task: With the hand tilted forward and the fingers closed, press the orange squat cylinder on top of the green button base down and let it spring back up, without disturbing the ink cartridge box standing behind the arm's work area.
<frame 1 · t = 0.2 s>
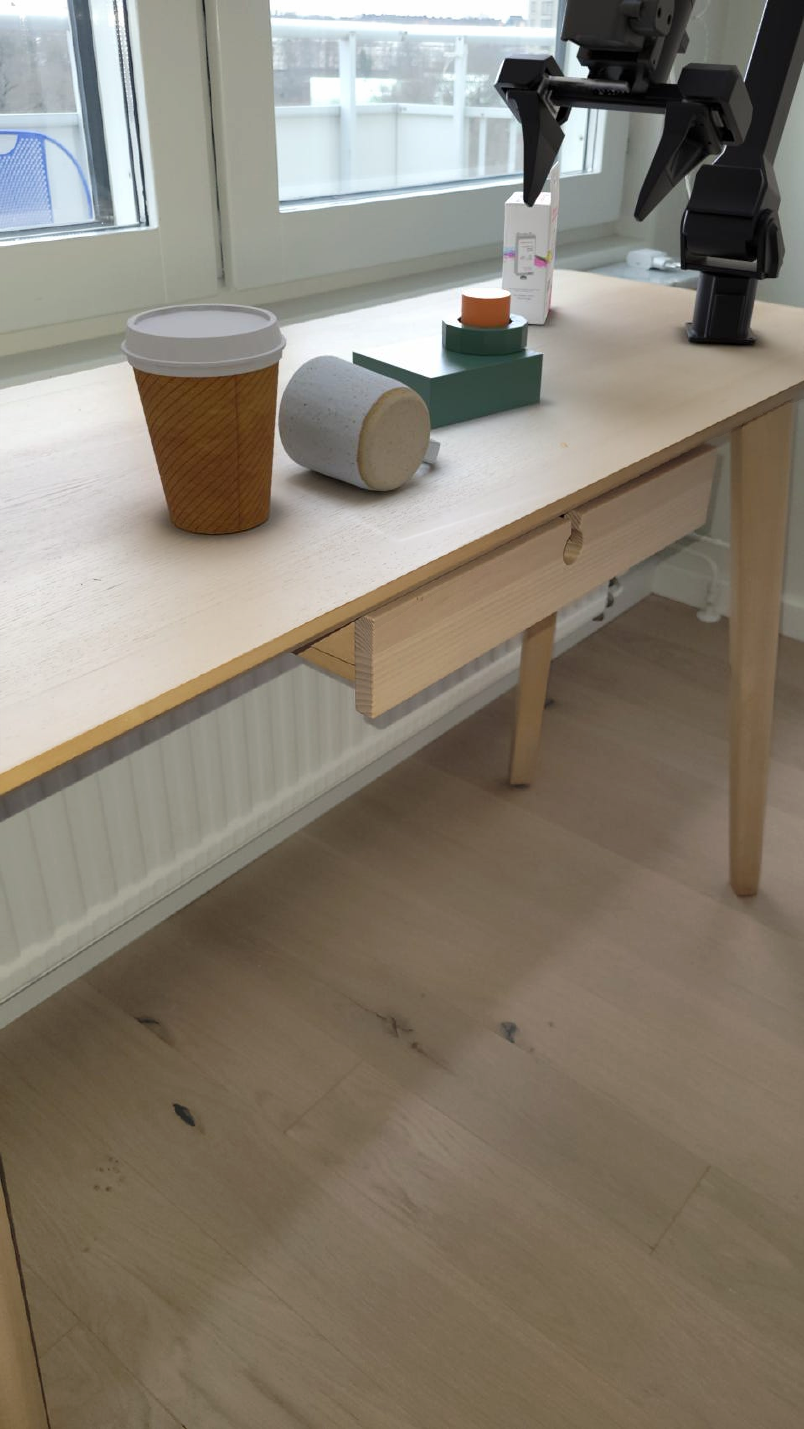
hand: (580, 211, 80), 15 cm above the table, tool tilted 30°, fingers open, 9 cm apart
ceramic mug: (368, 476, 75), on the table
ink cartridge box: (525, 317, 116), on the table
orange squat cylinder: (485, 309, 88), point 7 cm above the table, slide at 0.1 cm
green button base: (446, 401, 89), on the table
disposable coffee cup: (220, 518, 68), on the table
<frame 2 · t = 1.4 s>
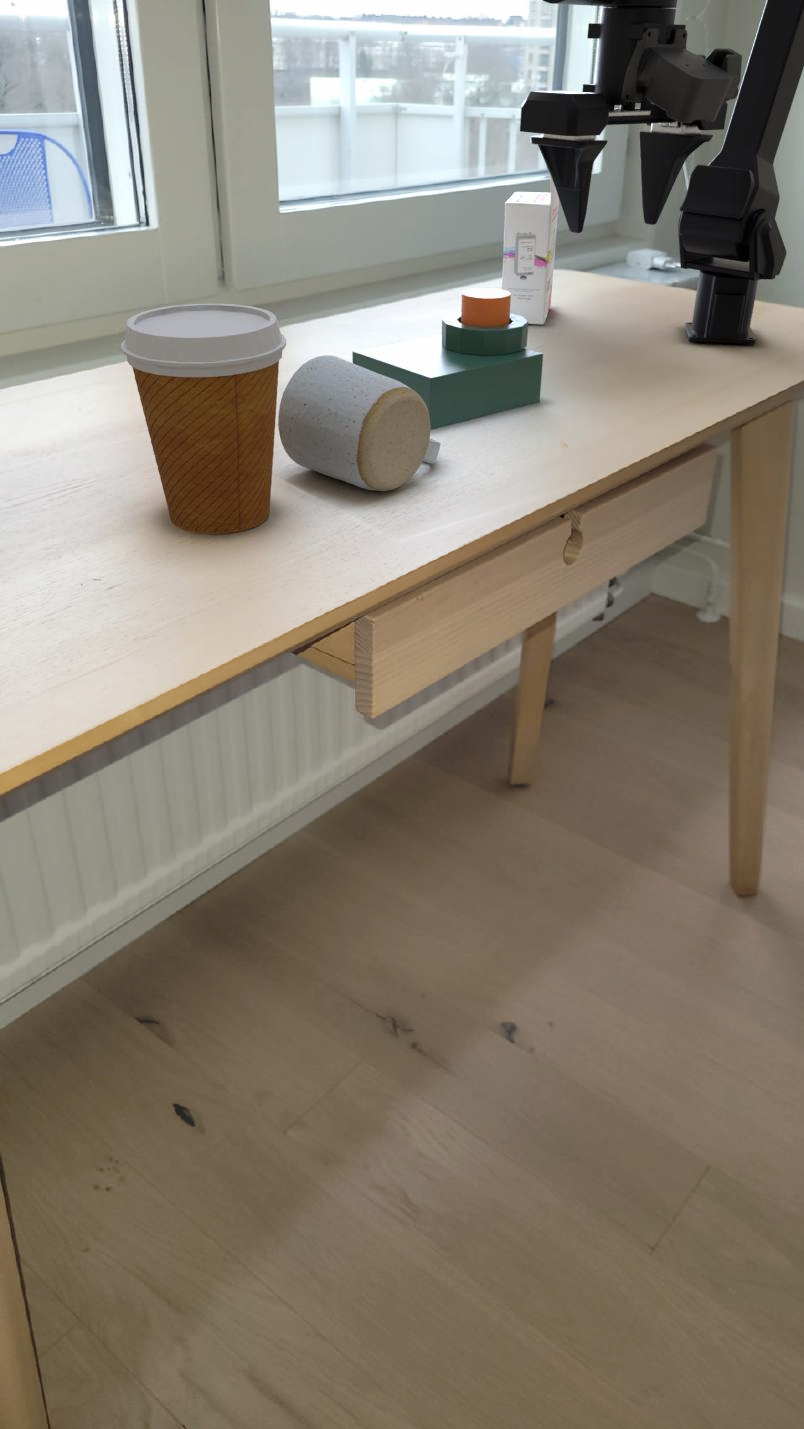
hand: (614, 228, 91), 12 cm above the table, tool pointing down, fingers open, 9 cm apart
nothing on the table moved.
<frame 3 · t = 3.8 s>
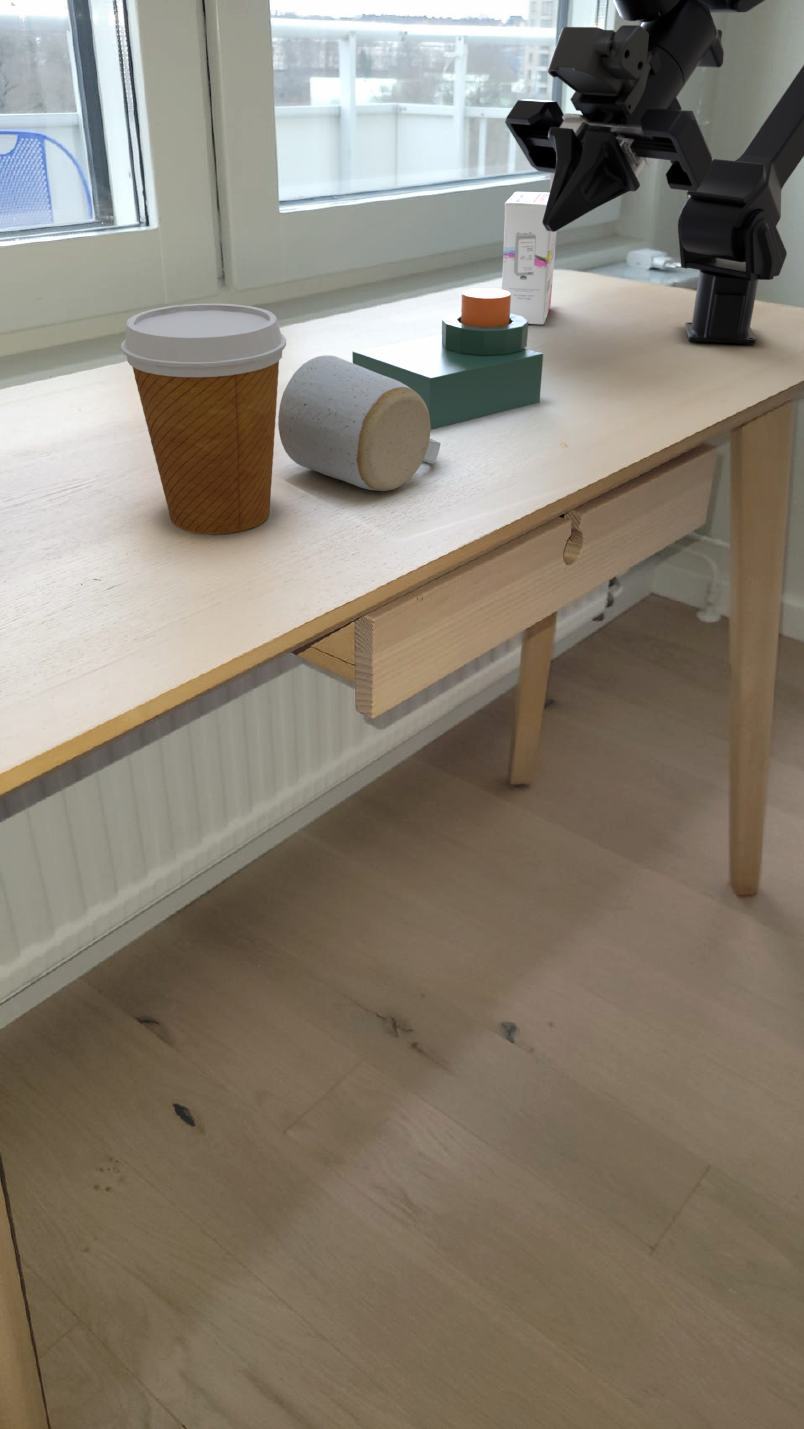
hand: (547, 227, 88), 12 cm above the table, tool tilted 45°, fingers closed
nothing on the table moved.
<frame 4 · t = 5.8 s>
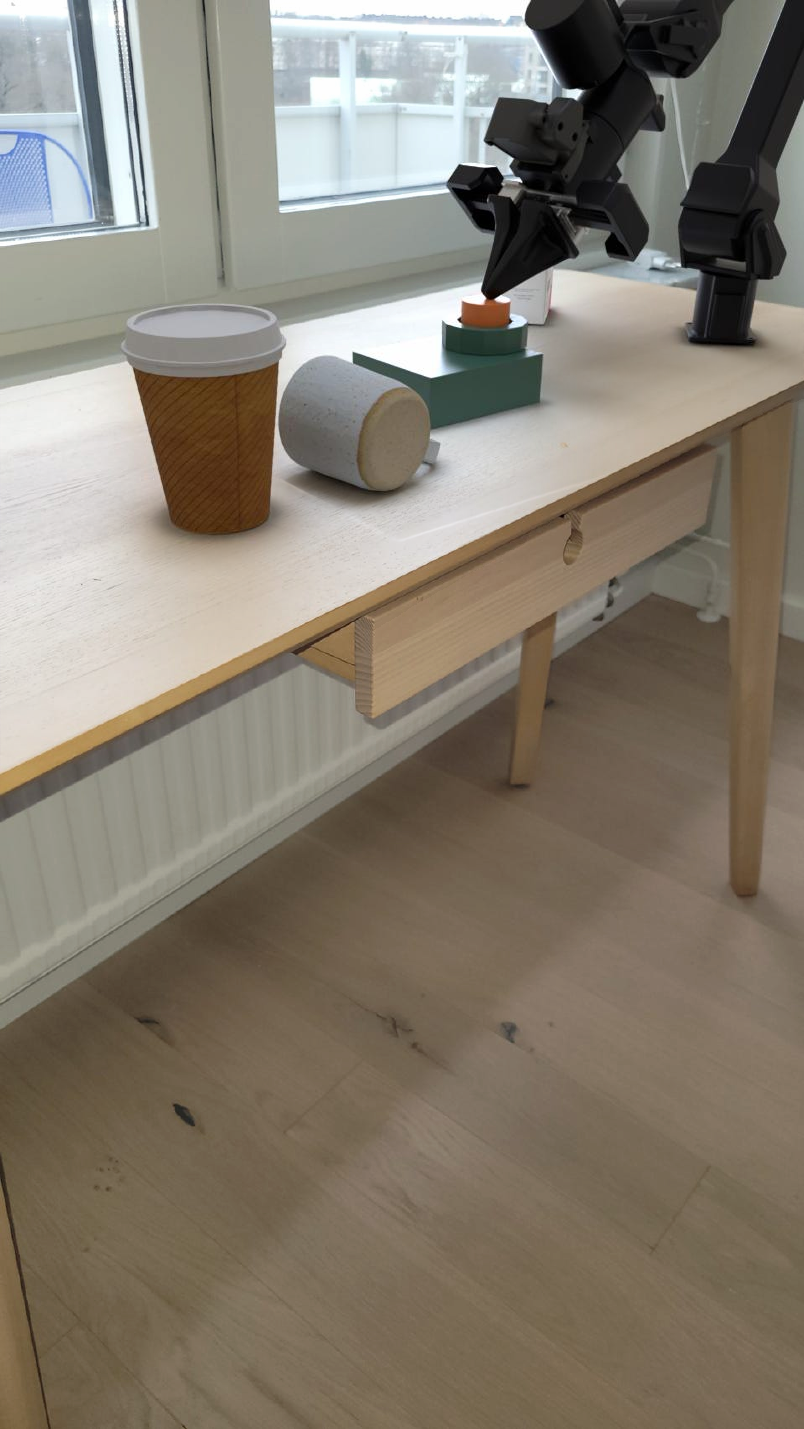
hand: (486, 295, 87), 8 cm above the table, tool tilted 45°, fingers closed, pressing on orange squat cylinder
orange squat cylinder: (485, 315, 88), point 6 cm above the table, slide at -0.4 cm, touching gripper
everything else where it was.
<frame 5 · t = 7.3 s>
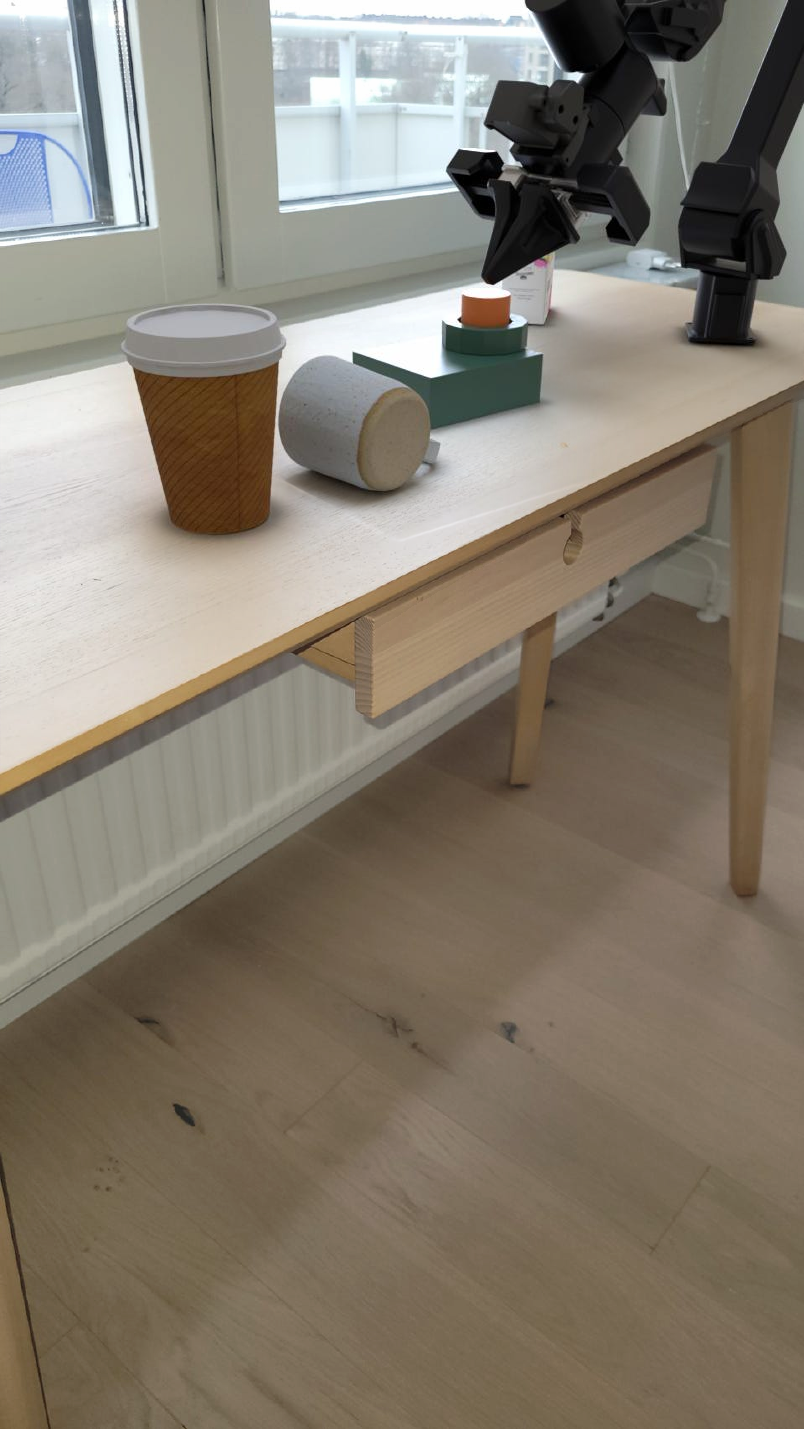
hand: (486, 281, 86), 9 cm above the table, tool tilted 45°, fingers closed
orange squat cylinder: (485, 309, 88), point 7 cm above the table, slide at 0.1 cm
everything else where it was.
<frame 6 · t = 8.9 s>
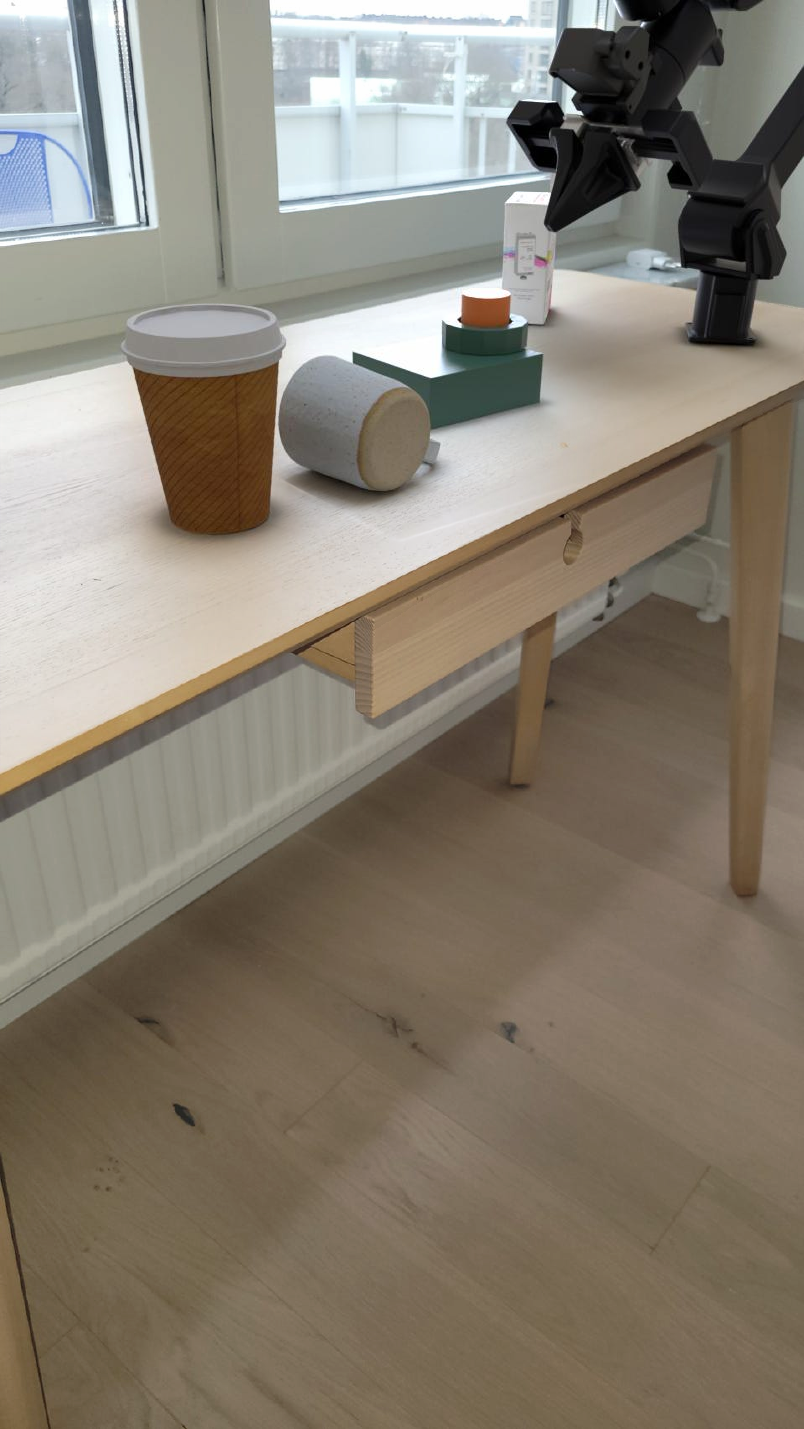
hand: (548, 228, 88), 12 cm above the table, tool tilted 45°, fingers closed
nothing on the table moved.
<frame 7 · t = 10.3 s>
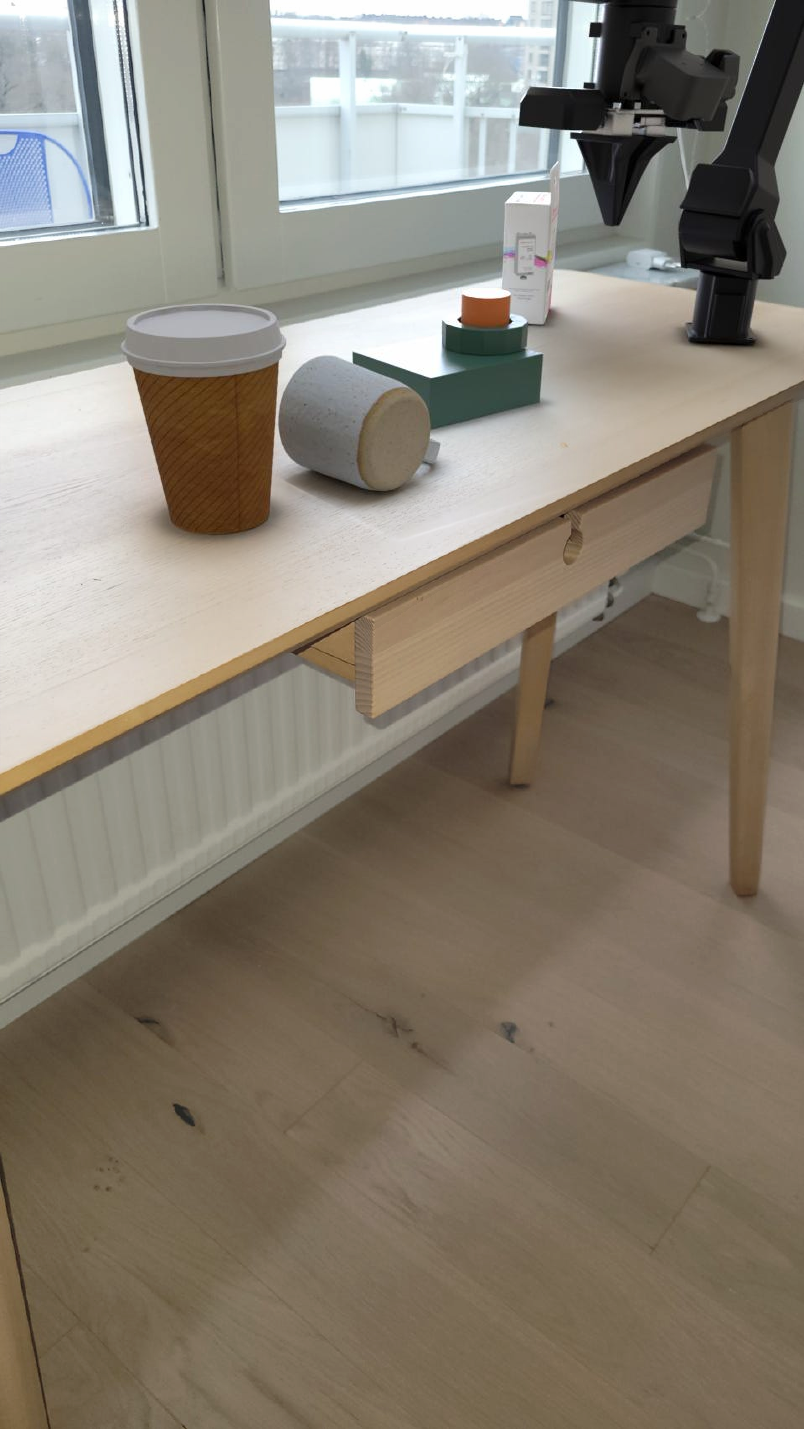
hand: (611, 226, 92), 12 cm above the table, tool pointing down, fingers closed
nothing on the table moved.
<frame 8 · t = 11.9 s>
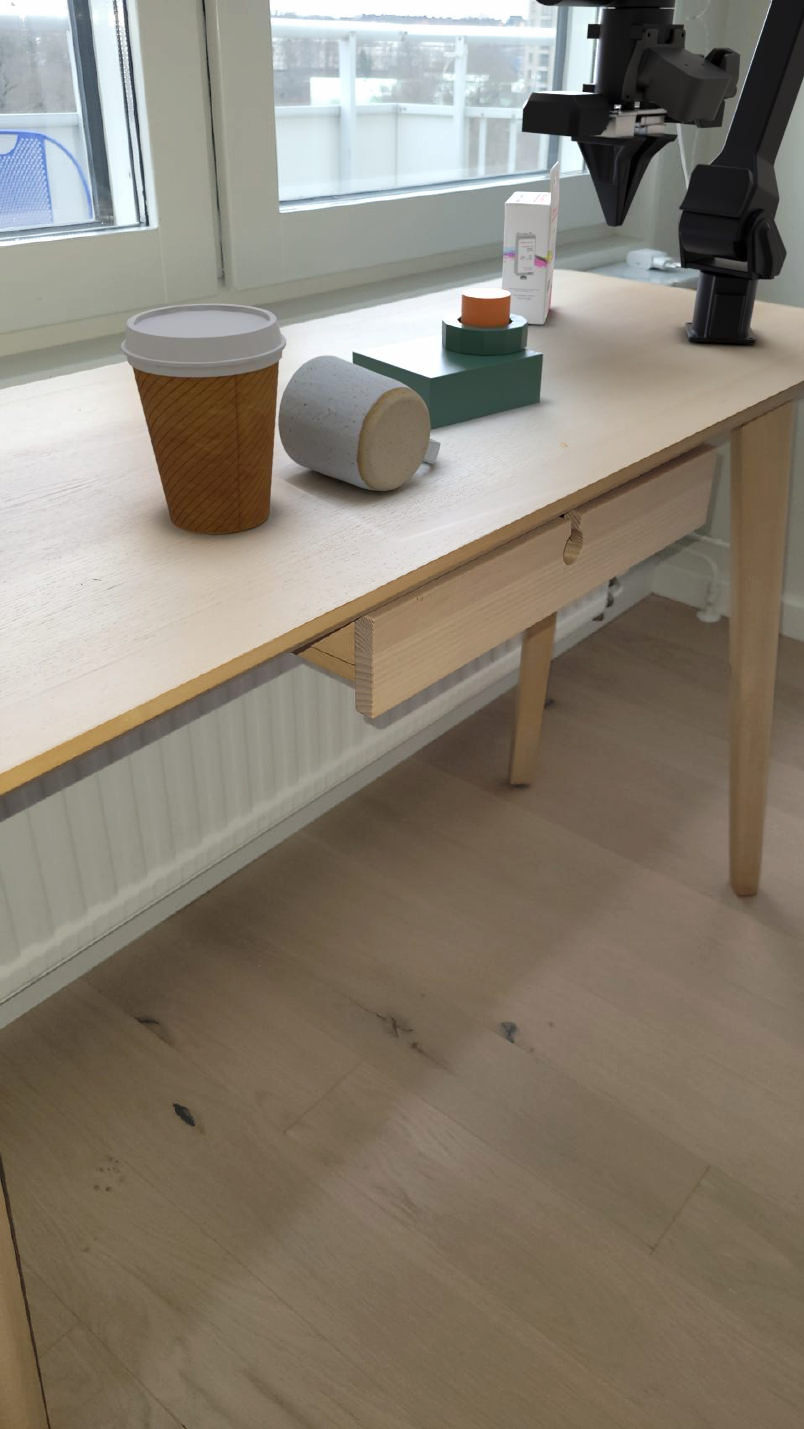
hand: (614, 226, 92), 12 cm above the table, tool pointing down, fingers closed
nothing on the table moved.
at the end: orange squat cylinder pushed in 1.4 cm at the most during the clip, back to where it started at the end; orange squat cylinder slide at 0.1 cm; ink cartridge box moved 0.2 cm from its start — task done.
